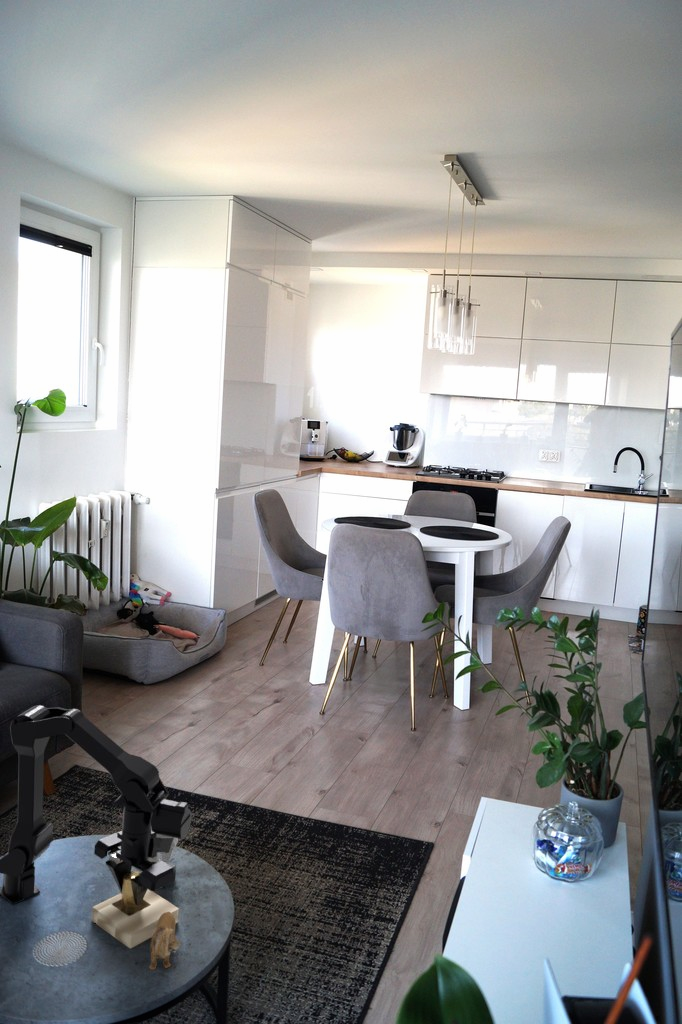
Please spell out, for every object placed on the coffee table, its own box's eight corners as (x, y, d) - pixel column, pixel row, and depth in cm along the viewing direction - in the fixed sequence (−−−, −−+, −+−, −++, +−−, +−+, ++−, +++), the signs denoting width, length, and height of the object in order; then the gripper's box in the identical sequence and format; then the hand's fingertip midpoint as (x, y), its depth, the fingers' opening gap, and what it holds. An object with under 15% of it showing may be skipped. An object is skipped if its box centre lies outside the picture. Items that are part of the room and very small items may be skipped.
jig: (91, 920, 172) (92, 906, 172) (139, 896, 182) (140, 883, 181) (130, 948, 165) (131, 934, 165) (177, 922, 175) (178, 908, 174)
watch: (178, 873, 192) (182, 827, 190) (161, 892, 184) (165, 844, 182) (156, 867, 193) (159, 821, 191) (138, 886, 185) (141, 838, 184)
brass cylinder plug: (116, 908, 174) (119, 876, 173) (132, 900, 177) (134, 868, 176) (129, 917, 171) (131, 884, 170) (145, 909, 174) (147, 877, 173)
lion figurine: (178, 981, 158) (181, 936, 156) (148, 982, 156) (152, 937, 155) (175, 930, 172) (178, 889, 171) (147, 931, 171) (151, 889, 169)
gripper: (199, 831, 172) (193, 903, 175) (138, 797, 183) (133, 865, 186) (155, 851, 164) (149, 927, 166) (95, 814, 175) (90, 886, 177)
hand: (131, 899), depth 174 cm, fingers closed on brass cylinder plug, 4 cm apart
